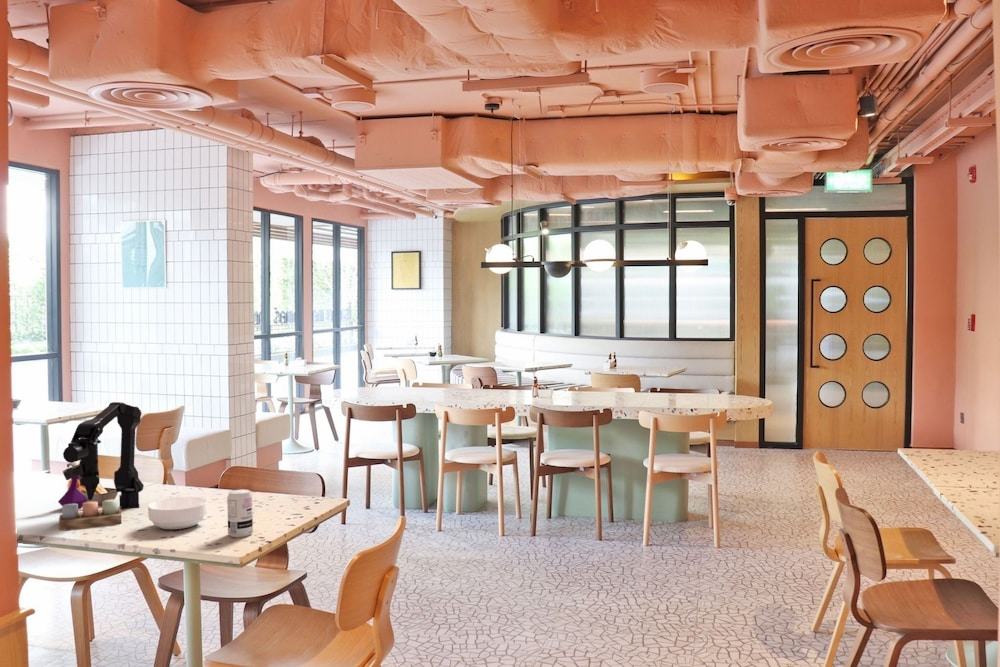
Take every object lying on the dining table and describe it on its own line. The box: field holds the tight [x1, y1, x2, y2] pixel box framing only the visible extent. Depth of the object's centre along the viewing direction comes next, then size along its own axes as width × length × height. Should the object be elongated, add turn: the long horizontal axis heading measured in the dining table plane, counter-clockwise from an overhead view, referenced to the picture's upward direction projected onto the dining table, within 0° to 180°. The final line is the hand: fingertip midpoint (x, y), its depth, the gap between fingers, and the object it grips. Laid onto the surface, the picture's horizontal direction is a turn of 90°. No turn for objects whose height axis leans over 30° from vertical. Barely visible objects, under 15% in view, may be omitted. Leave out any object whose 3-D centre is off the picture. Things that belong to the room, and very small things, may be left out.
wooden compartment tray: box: [58, 507, 122, 531], centre depth 294 cm, size 20×12×3 cm, turn 117°
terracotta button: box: [82, 500, 99, 517], centre depth 294 cm, size 5×5×5 cm
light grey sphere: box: [61, 503, 79, 520], centre depth 291 cm, size 5×5×5 cm
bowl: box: [147, 496, 208, 530], centre depth 289 cm, size 20×20×8 cm
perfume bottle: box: [58, 462, 89, 509], centre depth 316 cm, size 8×8×18 cm
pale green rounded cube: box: [101, 498, 119, 515], centre depth 297 cm, size 5×5×5 cm
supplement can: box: [226, 488, 254, 538], centre depth 278 cm, size 8×8×15 cm
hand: (90, 499), depth 294 cm, fingers closed
